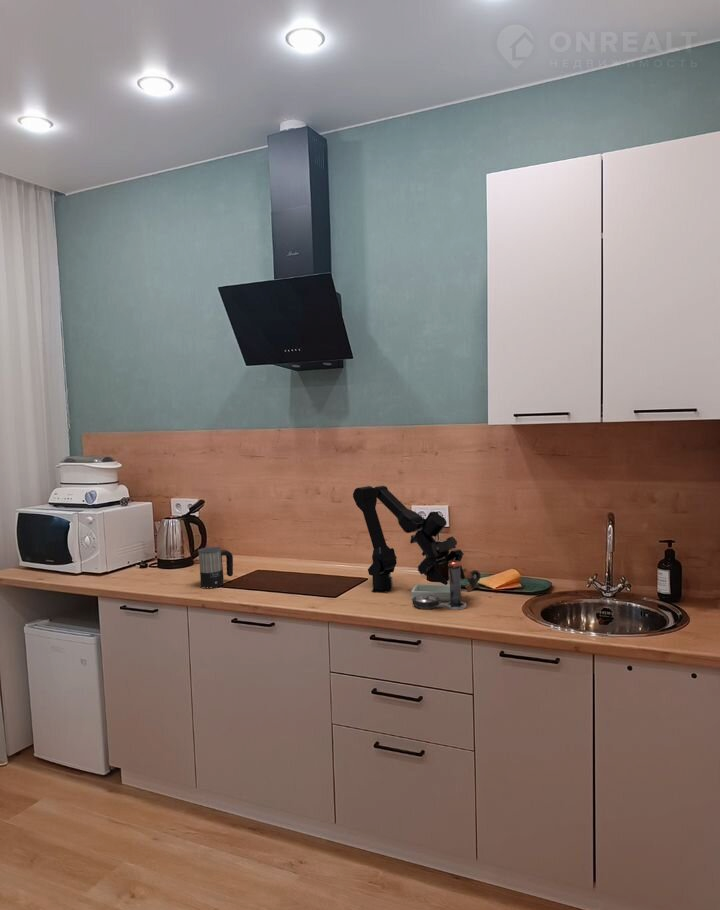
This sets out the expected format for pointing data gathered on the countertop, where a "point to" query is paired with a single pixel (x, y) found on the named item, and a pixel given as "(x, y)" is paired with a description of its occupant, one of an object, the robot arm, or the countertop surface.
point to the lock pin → (455, 583)
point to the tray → (432, 591)
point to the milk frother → (213, 566)
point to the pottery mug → (471, 579)
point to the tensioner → (433, 603)
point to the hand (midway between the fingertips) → (455, 581)
